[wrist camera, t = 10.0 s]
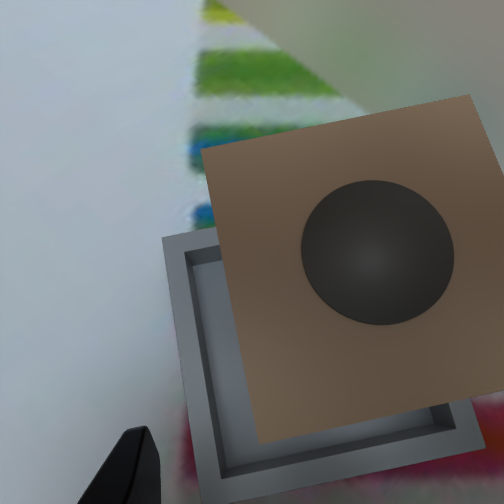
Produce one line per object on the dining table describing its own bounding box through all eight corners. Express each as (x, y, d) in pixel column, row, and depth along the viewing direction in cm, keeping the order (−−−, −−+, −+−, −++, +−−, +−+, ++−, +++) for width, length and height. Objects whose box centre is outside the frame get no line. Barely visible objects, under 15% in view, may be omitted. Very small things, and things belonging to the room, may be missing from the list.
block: (373, 383, 18) (596, 375, 6) (264, 407, 18) (255, 451, 6) (343, 277, 20) (474, 87, 7) (242, 299, 20) (196, 143, 7)
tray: (452, 438, 18) (486, 447, 16) (212, 490, 18) (202, 509, 15) (383, 215, 21) (401, 189, 19) (176, 257, 21) (161, 237, 18)
